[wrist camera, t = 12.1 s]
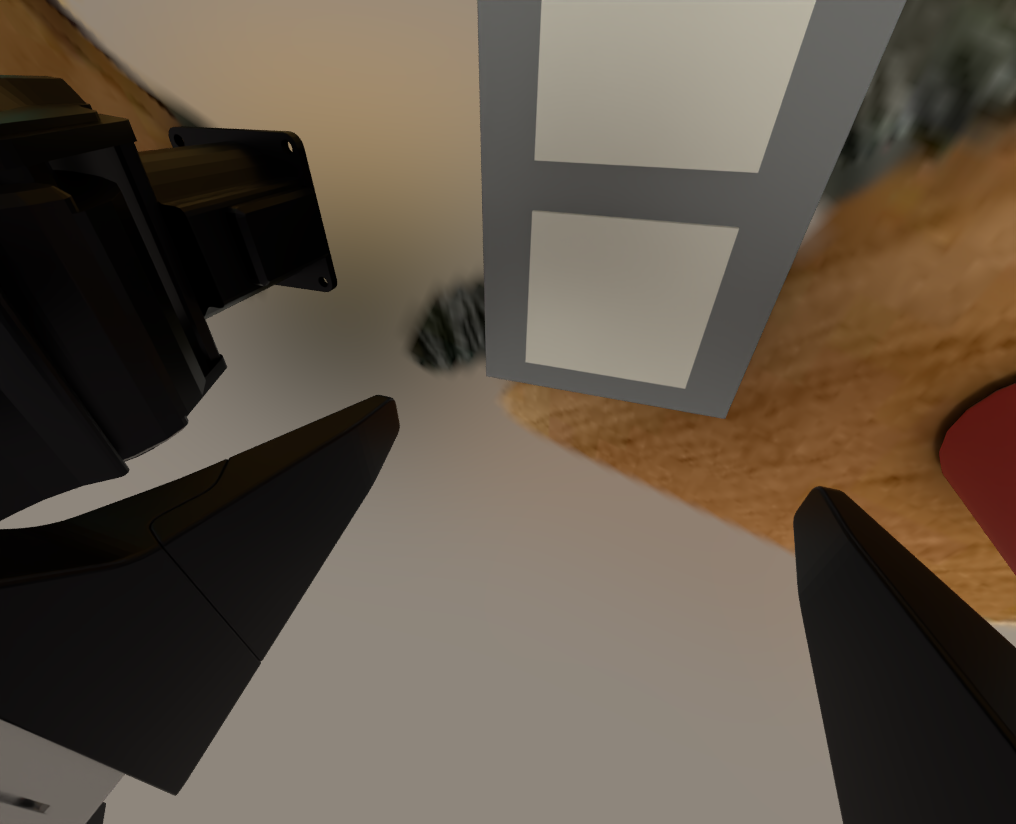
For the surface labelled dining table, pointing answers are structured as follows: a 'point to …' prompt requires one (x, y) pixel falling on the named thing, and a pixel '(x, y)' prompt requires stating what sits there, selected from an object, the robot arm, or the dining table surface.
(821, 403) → the dining table surface
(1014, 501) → the beer can
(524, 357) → the label board
